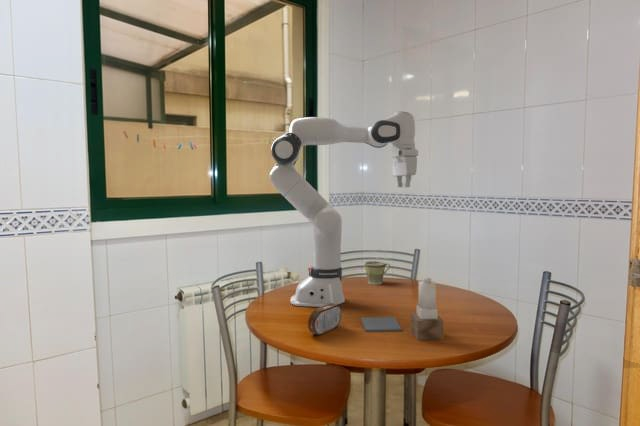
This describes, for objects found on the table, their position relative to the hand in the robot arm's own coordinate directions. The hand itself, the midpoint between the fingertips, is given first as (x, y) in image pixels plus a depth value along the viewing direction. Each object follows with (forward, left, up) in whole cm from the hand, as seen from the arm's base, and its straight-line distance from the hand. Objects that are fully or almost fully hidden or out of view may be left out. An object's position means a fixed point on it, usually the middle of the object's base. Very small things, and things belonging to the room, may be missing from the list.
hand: (403, 187), depth 165 cm
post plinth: (-1, -38, -47) cm, 61 cm away
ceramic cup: (-5, +32, -47) cm, 57 cm away
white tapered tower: (-1, -38, -41) cm, 56 cm away
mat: (-14, -28, -47) cm, 57 cm away
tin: (-33, -33, -47) cm, 67 cm away
